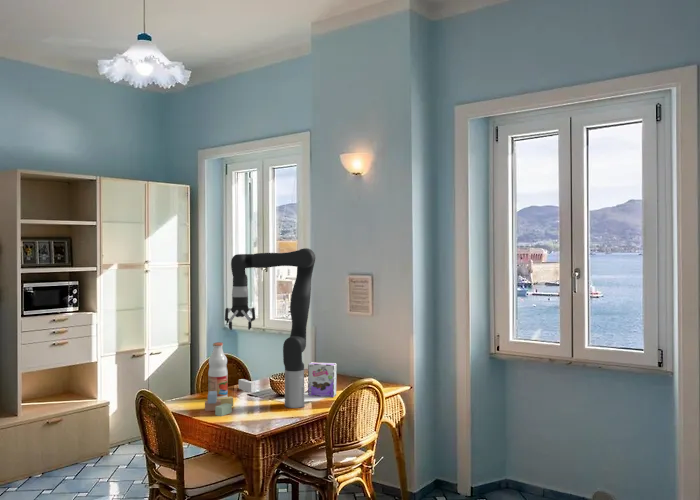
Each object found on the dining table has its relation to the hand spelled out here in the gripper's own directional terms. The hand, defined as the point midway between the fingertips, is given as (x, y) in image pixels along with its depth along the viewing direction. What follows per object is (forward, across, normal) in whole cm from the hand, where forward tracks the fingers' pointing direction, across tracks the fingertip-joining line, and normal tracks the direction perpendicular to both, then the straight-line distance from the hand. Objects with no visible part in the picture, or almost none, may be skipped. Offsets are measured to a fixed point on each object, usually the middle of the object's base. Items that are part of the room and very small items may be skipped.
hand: (240, 329), depth 296 cm
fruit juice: (+36, +12, -12) cm, 40 cm away
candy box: (+36, -40, -16) cm, 56 cm away
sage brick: (+36, +6, +16) cm, 40 cm away
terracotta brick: (+36, +12, +8) cm, 39 cm away
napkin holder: (+37, -1, -32) cm, 49 cm away
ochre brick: (+36, +7, +2) cm, 37 cm away
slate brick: (+32, +12, +8) cm, 35 cm away
